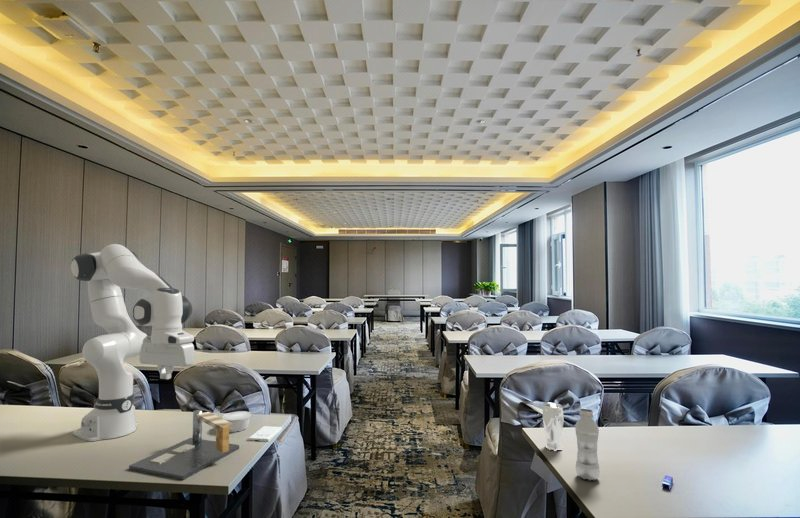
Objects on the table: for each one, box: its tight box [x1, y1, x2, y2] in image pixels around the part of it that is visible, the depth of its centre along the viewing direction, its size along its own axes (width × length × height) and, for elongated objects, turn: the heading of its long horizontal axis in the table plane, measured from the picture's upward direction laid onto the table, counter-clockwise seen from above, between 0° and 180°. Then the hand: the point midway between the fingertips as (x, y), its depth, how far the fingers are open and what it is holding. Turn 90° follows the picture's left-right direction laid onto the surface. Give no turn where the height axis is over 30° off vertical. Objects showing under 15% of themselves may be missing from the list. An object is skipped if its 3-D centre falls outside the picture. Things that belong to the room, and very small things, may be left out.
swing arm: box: [197, 411, 233, 453], centre depth 139 cm, size 20×4×8 cm, turn 49°
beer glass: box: [542, 402, 564, 451], centre depth 143 cm, size 7×7×15 cm
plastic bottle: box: [574, 408, 601, 481], centre depth 121 cm, size 6×7×20 cm
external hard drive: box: [247, 425, 283, 443], centre depth 155 cm, size 2×8×12 cm
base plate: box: [128, 409, 240, 481], centre depth 135 cm, size 22×24×12 cm
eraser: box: [661, 475, 674, 491], centre depth 116 cm, size 2×6×2 cm, turn 138°
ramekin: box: [221, 410, 252, 433], centre depth 163 cm, size 11×11×5 cm
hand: (165, 378), depth 133 cm, fingers closed
